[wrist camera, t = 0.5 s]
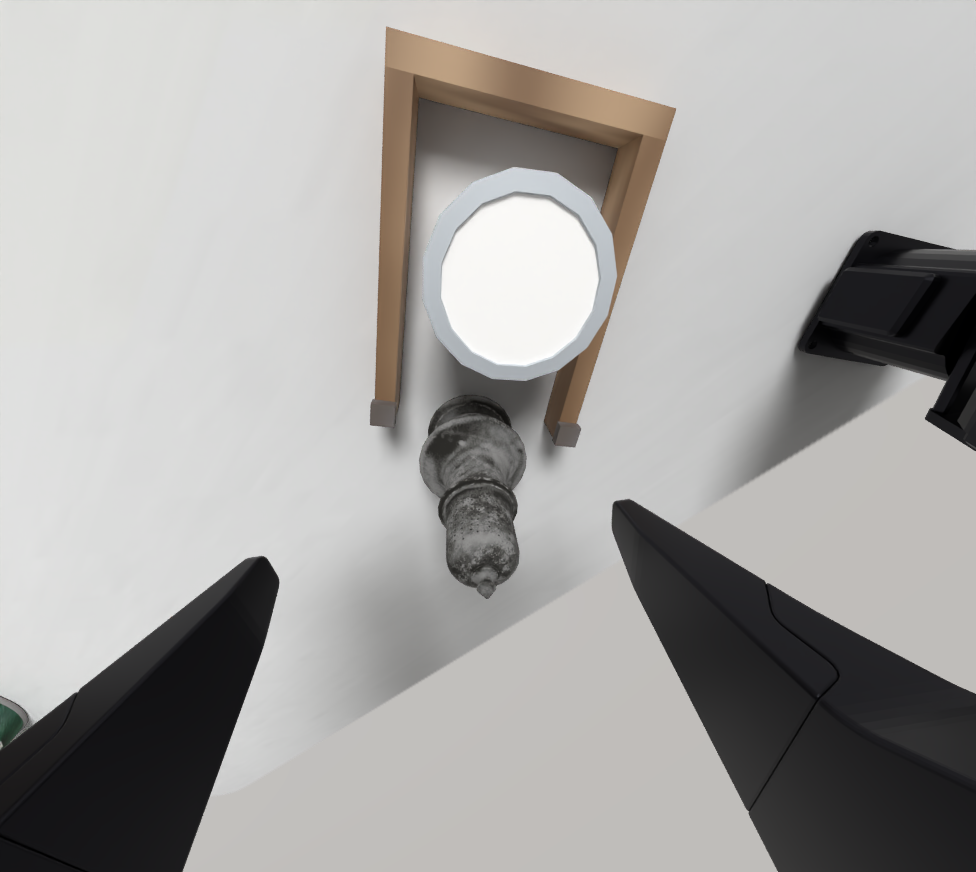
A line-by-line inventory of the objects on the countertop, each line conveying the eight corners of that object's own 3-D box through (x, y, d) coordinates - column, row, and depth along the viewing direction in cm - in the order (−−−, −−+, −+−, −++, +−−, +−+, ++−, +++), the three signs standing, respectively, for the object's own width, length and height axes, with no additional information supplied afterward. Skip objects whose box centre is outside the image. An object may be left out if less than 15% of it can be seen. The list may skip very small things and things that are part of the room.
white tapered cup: (584, 220, 18) (654, 210, 12) (536, 353, 21) (572, 400, 15) (448, 169, 16) (447, 127, 10) (418, 319, 19) (403, 357, 13)
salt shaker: (507, 475, 25) (549, 649, 14) (420, 468, 24) (396, 649, 13) (524, 396, 22) (592, 539, 12) (427, 385, 21) (404, 528, 11)
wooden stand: (648, 126, 16) (687, 104, 14) (560, 422, 23) (575, 447, 20) (393, 58, 14) (380, 16, 12) (380, 401, 21) (370, 425, 19)
